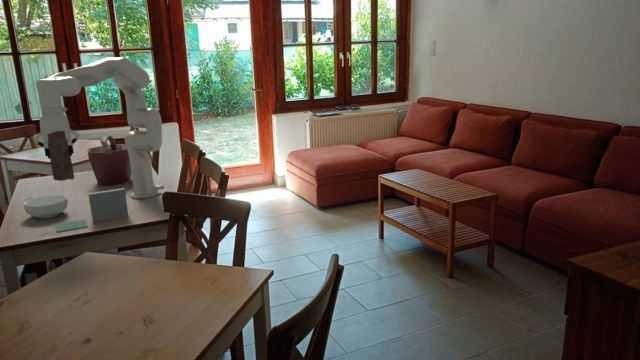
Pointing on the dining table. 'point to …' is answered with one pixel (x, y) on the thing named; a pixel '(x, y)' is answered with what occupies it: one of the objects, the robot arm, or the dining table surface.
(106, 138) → the bucket
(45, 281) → the dining table surface
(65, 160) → the brown textured block
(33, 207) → the cereal bowl
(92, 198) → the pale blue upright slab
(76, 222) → the mat
